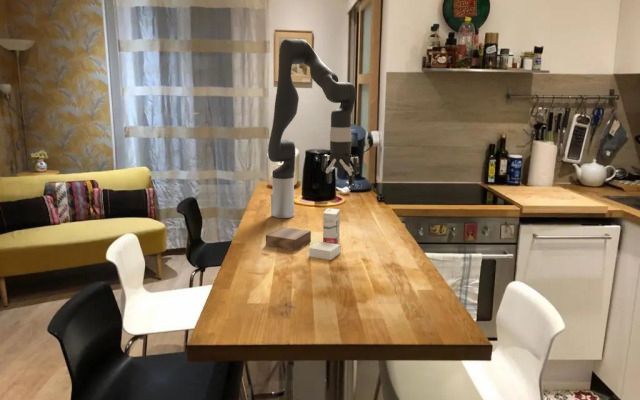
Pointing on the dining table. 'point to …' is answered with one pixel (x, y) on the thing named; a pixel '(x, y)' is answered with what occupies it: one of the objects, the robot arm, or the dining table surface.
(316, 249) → the white square block
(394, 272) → the dining table surface
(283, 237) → the walnut slab
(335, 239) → the ink box
